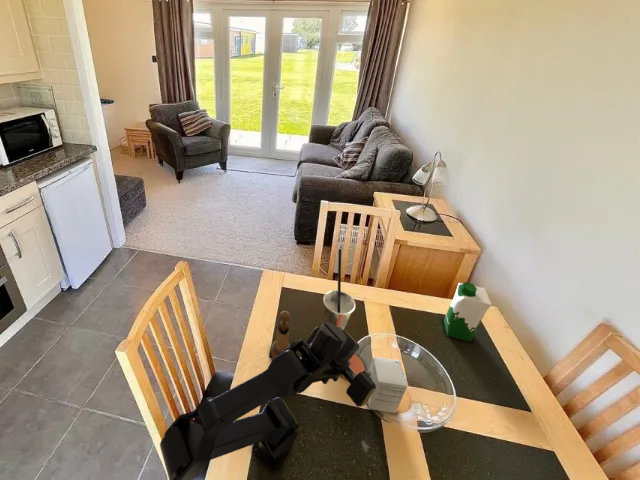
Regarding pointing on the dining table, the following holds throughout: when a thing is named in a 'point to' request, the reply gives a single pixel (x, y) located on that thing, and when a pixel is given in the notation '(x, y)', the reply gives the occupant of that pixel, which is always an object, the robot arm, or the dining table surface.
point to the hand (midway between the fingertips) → (356, 359)
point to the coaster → (356, 364)
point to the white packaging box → (386, 384)
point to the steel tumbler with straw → (338, 303)
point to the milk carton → (466, 311)
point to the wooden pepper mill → (281, 335)
